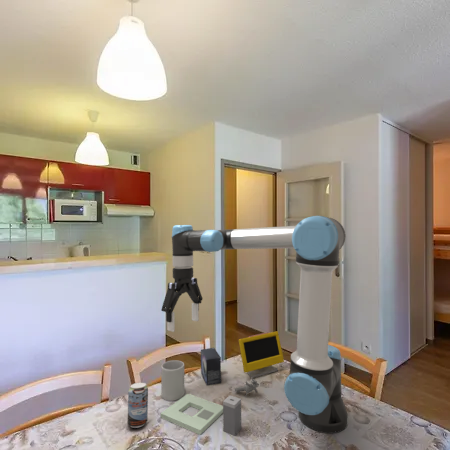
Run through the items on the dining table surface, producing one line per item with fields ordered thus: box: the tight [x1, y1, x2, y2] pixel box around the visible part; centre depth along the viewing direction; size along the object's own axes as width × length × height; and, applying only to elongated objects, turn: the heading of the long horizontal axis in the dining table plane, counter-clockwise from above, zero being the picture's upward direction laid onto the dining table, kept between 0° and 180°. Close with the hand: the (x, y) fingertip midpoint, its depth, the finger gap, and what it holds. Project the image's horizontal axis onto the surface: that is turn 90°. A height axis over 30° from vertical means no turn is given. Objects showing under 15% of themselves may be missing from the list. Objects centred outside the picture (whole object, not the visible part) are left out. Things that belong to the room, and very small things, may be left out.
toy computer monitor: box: [238, 330, 285, 379], centre depth 131 cm, size 20×8×16 cm, turn 119°
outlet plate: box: [160, 393, 223, 436], centre depth 101 cm, size 16×14×2 cm
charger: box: [222, 394, 242, 437], centre depth 93 cm, size 4×4×9 cm
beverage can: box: [126, 382, 149, 429], centre depth 96 cm, size 6×7×12 cm
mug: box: [160, 359, 186, 402], centre depth 114 cm, size 12×8×11 cm
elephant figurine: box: [233, 377, 260, 398], centre depth 112 cm, size 10×6×9 cm
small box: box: [200, 347, 222, 386], centre depth 125 cm, size 11×6×10 cm, turn 17°
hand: (183, 325), depth 111 cm, fingers open, 13 cm apart
